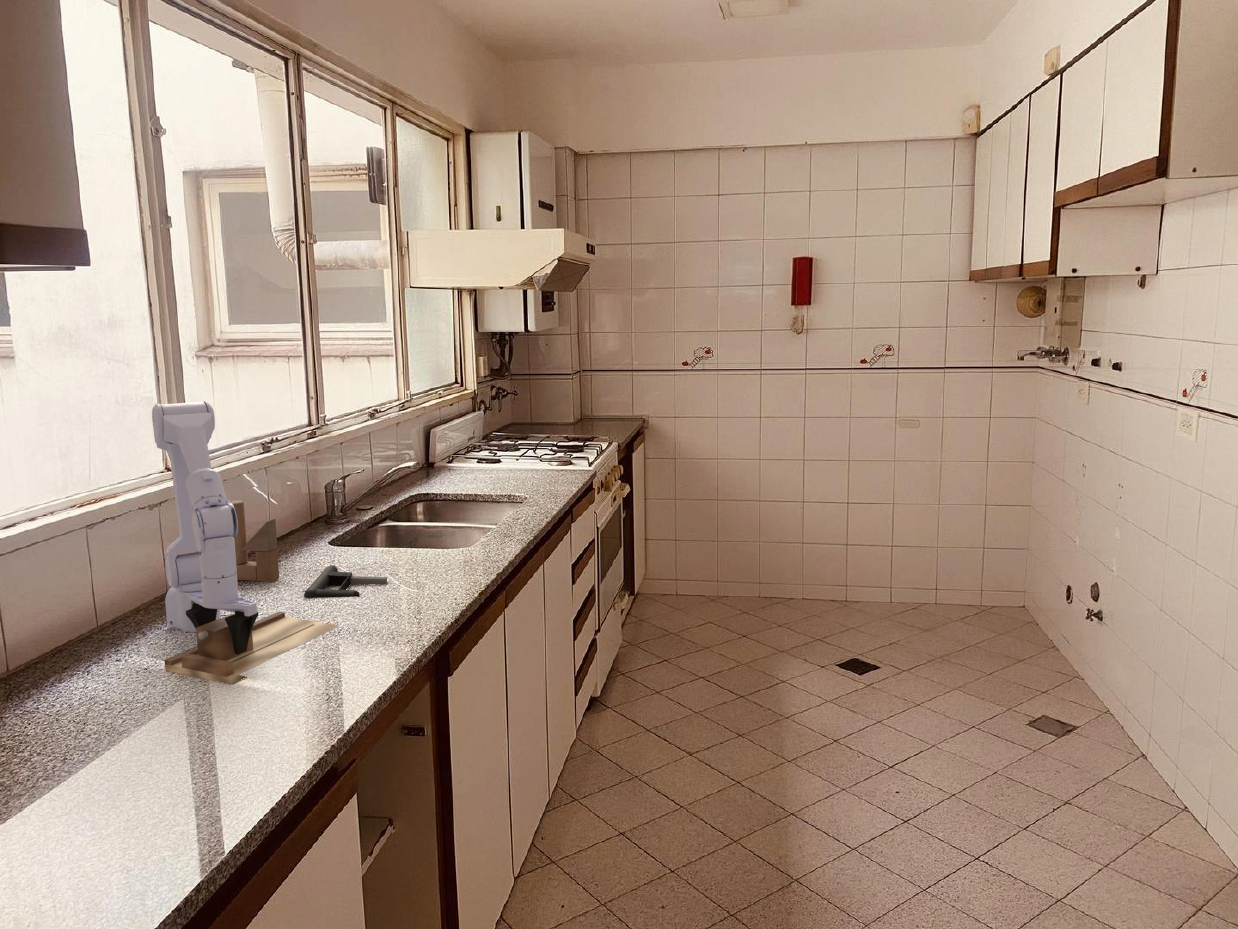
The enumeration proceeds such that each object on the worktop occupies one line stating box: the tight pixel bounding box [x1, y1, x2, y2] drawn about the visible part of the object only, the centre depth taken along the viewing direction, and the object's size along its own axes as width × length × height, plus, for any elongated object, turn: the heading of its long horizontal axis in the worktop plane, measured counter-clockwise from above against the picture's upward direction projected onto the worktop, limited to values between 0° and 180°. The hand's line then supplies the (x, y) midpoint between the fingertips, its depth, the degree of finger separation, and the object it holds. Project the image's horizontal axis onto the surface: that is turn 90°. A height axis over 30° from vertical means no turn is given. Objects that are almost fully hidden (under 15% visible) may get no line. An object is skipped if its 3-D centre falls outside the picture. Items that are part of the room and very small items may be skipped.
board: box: [164, 611, 340, 685], centre depth 166 cm, size 15×27×3 cm, turn 157°
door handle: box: [303, 564, 388, 599], centre depth 202 cm, size 3×20×16 cm
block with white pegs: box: [195, 613, 253, 661], centre depth 160 cm, size 4×10×6 cm, turn 156°
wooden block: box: [230, 499, 280, 583], centre depth 208 cm, size 4×11×18 cm, turn 79°
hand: (224, 649), depth 160 cm, fingers open, 7 cm apart
